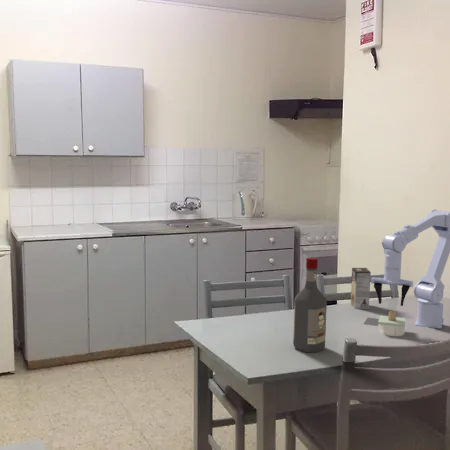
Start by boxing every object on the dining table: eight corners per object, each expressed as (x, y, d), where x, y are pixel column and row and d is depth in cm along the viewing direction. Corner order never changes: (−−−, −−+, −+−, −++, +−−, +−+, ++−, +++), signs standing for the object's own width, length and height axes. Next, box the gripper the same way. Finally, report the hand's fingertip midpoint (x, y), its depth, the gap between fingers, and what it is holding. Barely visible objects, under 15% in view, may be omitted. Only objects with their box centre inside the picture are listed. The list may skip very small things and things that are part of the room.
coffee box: (349, 303, 248) (351, 267, 246) (364, 303, 248) (366, 267, 246) (354, 309, 239) (355, 271, 237) (369, 309, 239) (371, 271, 237)
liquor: (289, 347, 189) (292, 258, 185) (306, 341, 195) (309, 255, 192) (311, 354, 182) (314, 262, 179) (328, 348, 189) (331, 258, 185)
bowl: (405, 331, 209) (406, 320, 208) (402, 338, 201) (403, 327, 200) (380, 328, 212) (380, 317, 212) (376, 334, 204) (377, 323, 204)
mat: (393, 321, 221) (393, 320, 221) (390, 328, 212) (390, 327, 212) (367, 318, 225) (367, 317, 225) (363, 324, 216) (363, 324, 216)
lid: (405, 320, 209) (405, 309, 208) (404, 326, 201) (405, 315, 200) (380, 317, 212) (380, 307, 211) (378, 324, 203) (378, 313, 203)
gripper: (370, 267, 206) (369, 304, 208) (412, 271, 201) (410, 309, 202) (373, 264, 212) (371, 300, 214) (414, 267, 207) (412, 304, 209)
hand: (390, 304), depth 209 cm, fingers open, 7 cm apart
